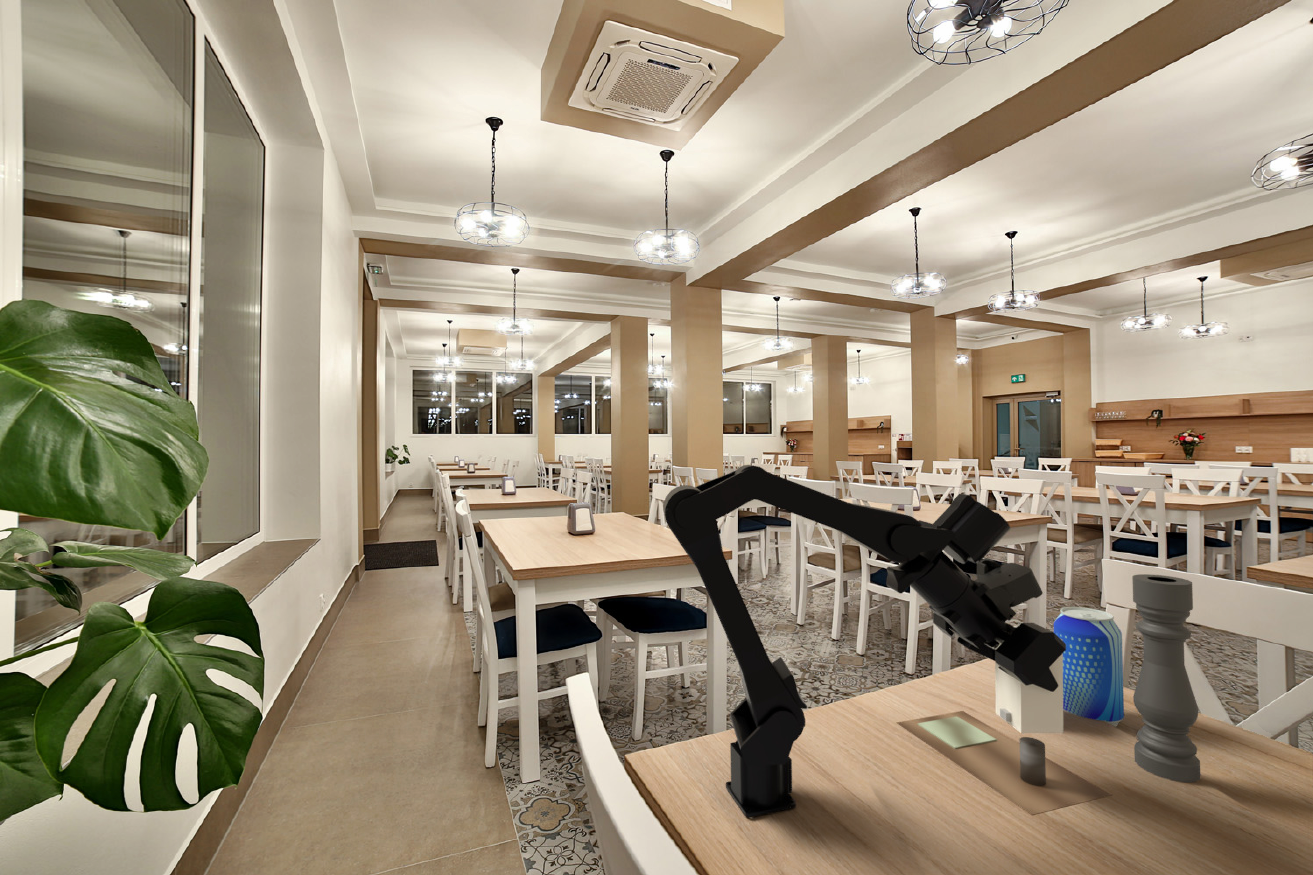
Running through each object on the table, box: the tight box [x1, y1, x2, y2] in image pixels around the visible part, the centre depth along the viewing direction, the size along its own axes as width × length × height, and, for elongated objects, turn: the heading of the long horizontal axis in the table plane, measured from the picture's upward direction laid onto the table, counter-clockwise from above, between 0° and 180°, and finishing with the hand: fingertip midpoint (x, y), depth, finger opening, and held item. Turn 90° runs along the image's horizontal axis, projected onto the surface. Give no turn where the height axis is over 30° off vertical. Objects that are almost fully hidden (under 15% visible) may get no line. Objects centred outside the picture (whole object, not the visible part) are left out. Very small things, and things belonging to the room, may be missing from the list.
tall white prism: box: [994, 625, 1064, 735], centre depth 70 cm, size 6×5×11 cm
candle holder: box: [1132, 573, 1201, 783], centre depth 72 cm, size 6×6×25 cm
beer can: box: [1053, 606, 1125, 727], centre depth 88 cm, size 8×8×16 cm
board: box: [896, 710, 1113, 816], centre depth 75 cm, size 12×22×6 cm, turn 16°
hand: (1039, 679), depth 70 cm, fingers closed on tall white prism, 5 cm apart
